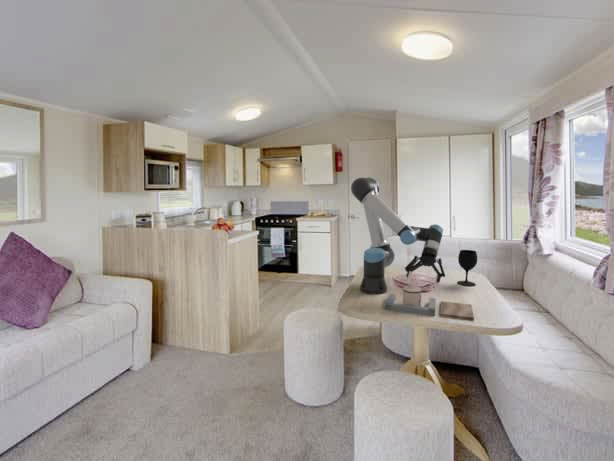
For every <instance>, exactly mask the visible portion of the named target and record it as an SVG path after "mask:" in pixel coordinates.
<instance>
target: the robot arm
mask: <svg viewBox="0 0 614 461" xmlns="http://www.w3.org/2000/svg"><path fill="white" fill-rule="evenodd" d="M350 185H351V186H350V191H351V194H352V196H353V197H355V198H356V200H358V202H359V203H360V204H362V206H363V209H364V214H365V218H366V223H367V227H368V231H369V235H370V241H371V245H370V247H369V248H367V249H365V251H364V253H363V274H362V275H363V277H362V280H361V282H360V285H359V290H360V291H361V292H362V293H365V294H371V295H381V294H382V295H383V294H386V293H387V292H388V285H387V282H386V278H385V272H386V271H385V269H386V268H387V267H389V266H390V265H392V263H393V262H394V261H395V255H396V254H395V251H394V250H393V248H392V247H391V243H390V242H389V241H387V238H386V233H385V229H384V224H385V225H387V227H389V228H390V229H391V230H392V231H393V233H395V234H396V235H397V236H398V237H399V238H400V241H401V243H403V244H404V245H406V246H407V245H412V244H414V243H416V242H417V241H419V242H424V245H423V249H422V252H421V254H420V256H418V255H414V257H413V259H411V261H410V262H409V263H408V264H407V265H406V266H405V267H404V270H405V272H406V281H405V282H406V284H407V285H410V284H411V279H412V275H413V273H414V271H416V270H417V269H419V268H421V267H429V268H430V267H431V268H432V269H433V270H434V273H436V274H435V278H434V282H433V285H432V286H433V289H434V290H436V289H437V286H438V283H439V284H440V282H441V278H445V277H446V274H445V271H444V268H443V262H442V261H443V260H442V258H437V257H438V256H437V255H438V253H439V249H440V245H441V241H442V238H443V232H444V228H443V227H442V226H441V225H439V224H435V223H433V224H431V225H430V226H429V227H421V226H420V227H418V226H413V225H408V224H407V223H406V221H404V220H403V219H402V218H401V217H400V215H398V214H397V213H396V212H394V211H393V210H392V208H391V207H389V206H388V205H387V204H386V203H385V202H384V201H383V200H382V199H381V198H380V194H379V193H380V190H381V189H380V184H379V182H378V180H376V179H375V178H374V177H373V178H372V177H358V178H356V179H355V180H353V182H352V183H351V184H350ZM383 223H384V224H383ZM435 263H437V264H438V265H439V269H440V271H439V269H438V268H437V266H436V265H435Z"/></svg>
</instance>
